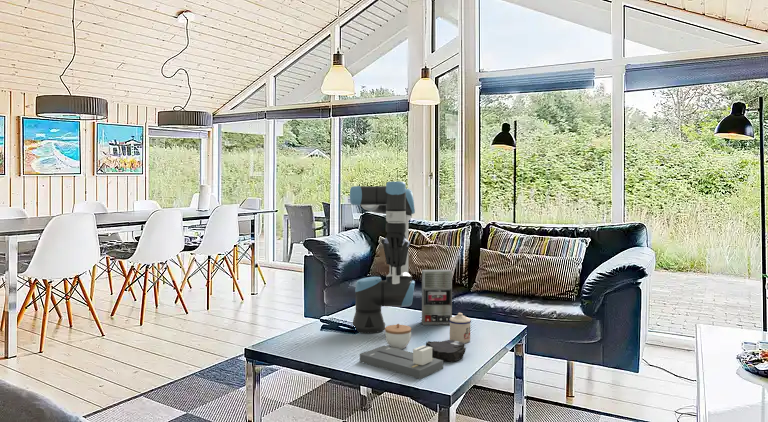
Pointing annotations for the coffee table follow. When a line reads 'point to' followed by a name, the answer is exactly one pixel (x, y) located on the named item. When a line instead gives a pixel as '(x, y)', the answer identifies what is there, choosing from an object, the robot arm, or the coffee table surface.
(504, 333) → the coffee table surface
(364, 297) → the robot arm
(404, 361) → the fader console
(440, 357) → the rock sample
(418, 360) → the fader knob
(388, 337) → the lidded jar
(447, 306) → the cassette tape recorder
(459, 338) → the teacup with lid
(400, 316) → the coffee table surface
